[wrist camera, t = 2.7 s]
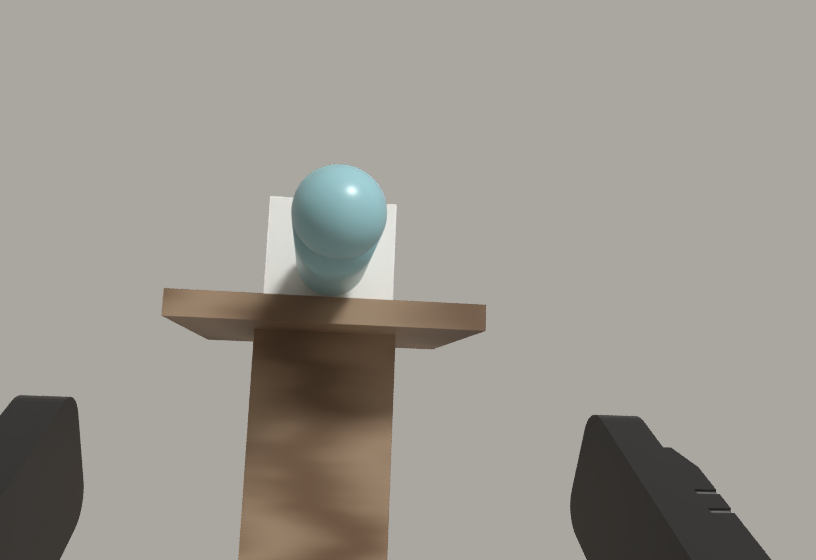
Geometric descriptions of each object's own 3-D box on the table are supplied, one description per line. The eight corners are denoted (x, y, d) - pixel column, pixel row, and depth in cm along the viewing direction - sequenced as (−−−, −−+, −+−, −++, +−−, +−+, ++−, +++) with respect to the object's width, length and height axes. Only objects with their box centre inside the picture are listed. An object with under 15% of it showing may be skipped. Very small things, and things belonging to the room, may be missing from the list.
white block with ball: (237, 243, 18) (248, 90, 18) (278, 327, 40) (282, 257, 41) (437, 256, 18) (441, 107, 19) (367, 331, 41) (370, 262, 41)
